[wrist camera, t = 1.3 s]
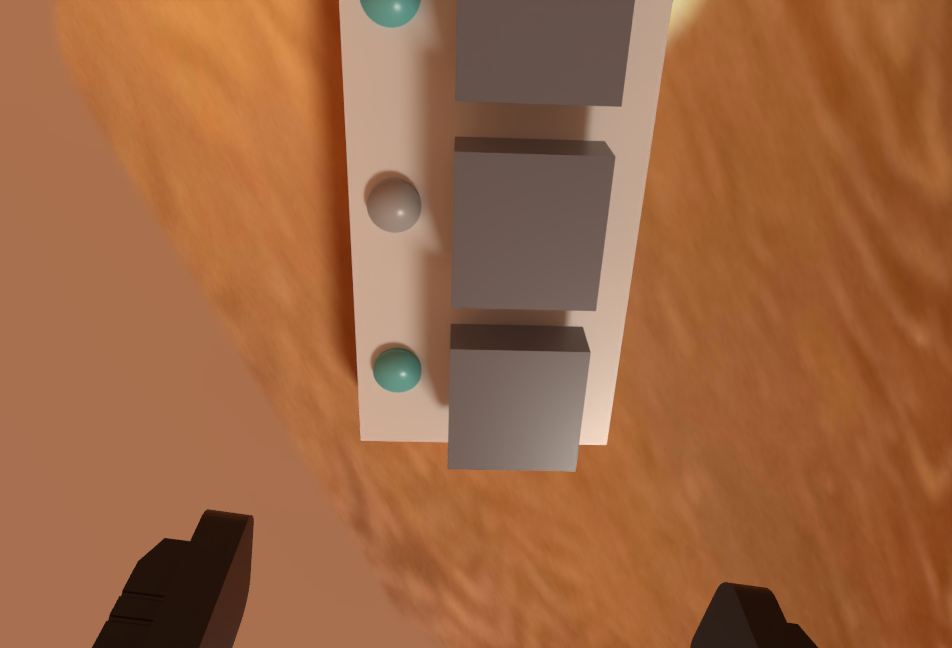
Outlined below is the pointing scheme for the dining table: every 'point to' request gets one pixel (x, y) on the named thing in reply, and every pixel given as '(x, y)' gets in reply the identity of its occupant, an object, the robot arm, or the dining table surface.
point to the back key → (516, 396)
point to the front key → (542, 51)
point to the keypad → (431, 206)
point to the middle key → (529, 222)
